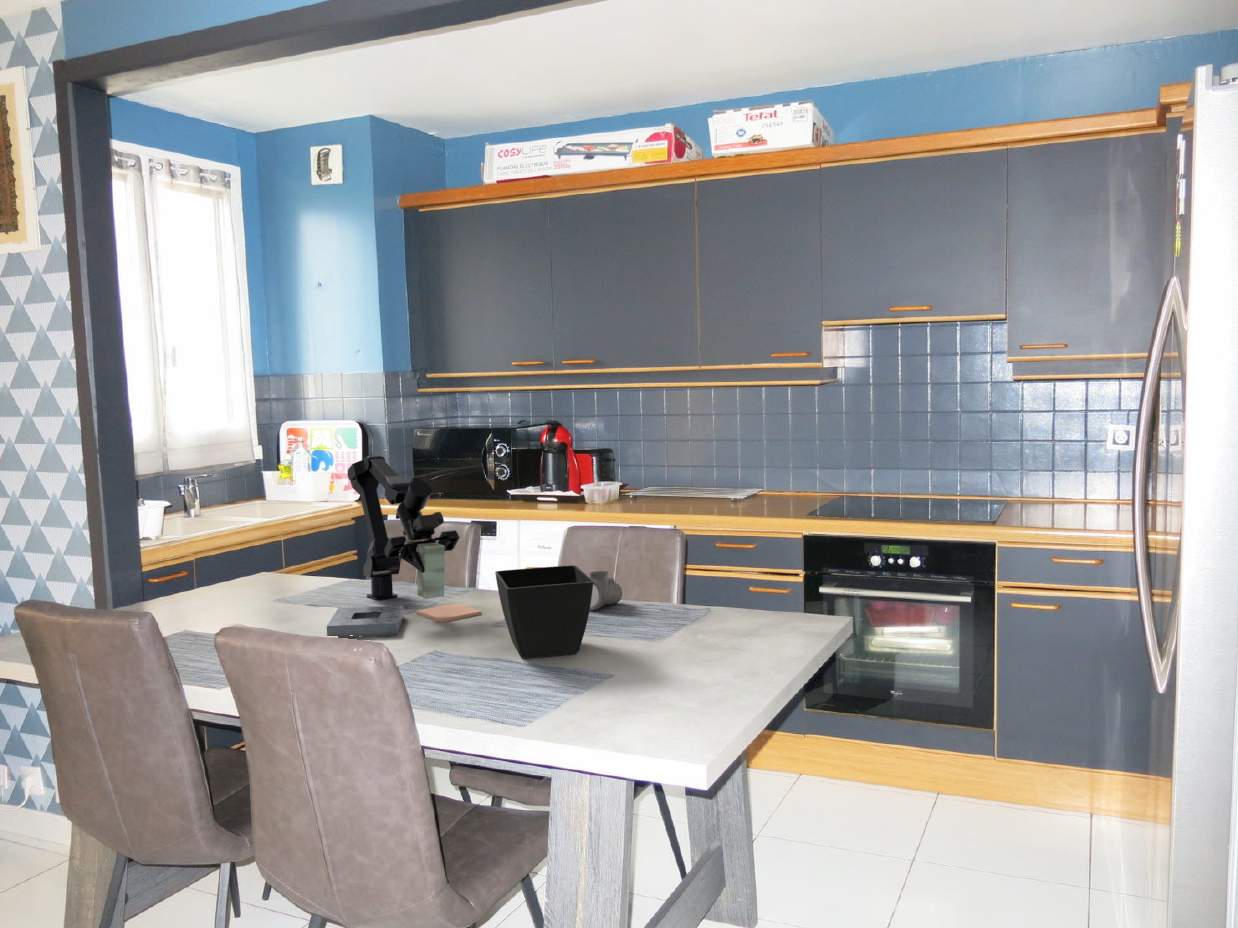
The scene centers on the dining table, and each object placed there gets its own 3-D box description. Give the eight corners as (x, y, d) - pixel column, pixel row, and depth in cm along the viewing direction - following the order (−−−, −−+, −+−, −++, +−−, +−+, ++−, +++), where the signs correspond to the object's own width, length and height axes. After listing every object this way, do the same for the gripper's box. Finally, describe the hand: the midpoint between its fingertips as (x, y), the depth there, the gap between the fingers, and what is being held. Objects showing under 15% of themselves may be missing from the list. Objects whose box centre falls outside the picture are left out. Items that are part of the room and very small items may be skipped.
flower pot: (508, 664, 206) (507, 586, 204) (495, 641, 224) (494, 569, 222) (595, 657, 211) (595, 581, 209) (576, 635, 229) (575, 564, 227)
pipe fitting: (599, 612, 250) (599, 571, 250) (575, 610, 255) (575, 570, 255) (628, 608, 259) (627, 569, 260) (604, 606, 264) (604, 568, 265)
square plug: (417, 595, 246) (417, 544, 245) (435, 592, 249) (435, 542, 248) (425, 598, 242) (426, 547, 241) (444, 596, 245) (444, 545, 244)
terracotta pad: (416, 613, 251) (416, 610, 251) (456, 606, 259) (456, 603, 259) (441, 622, 242) (441, 619, 242) (481, 614, 250) (481, 611, 250)
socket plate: (338, 619, 245) (338, 608, 245) (403, 617, 247) (403, 605, 247) (327, 638, 228) (326, 625, 227) (396, 635, 230) (396, 623, 229)
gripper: (387, 505, 241) (408, 555, 233) (455, 499, 252) (477, 547, 245) (375, 532, 248) (395, 582, 240) (442, 525, 259) (462, 572, 252)
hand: (433, 570), depth 244 cm, fingers closed on square plug, 5 cm apart
